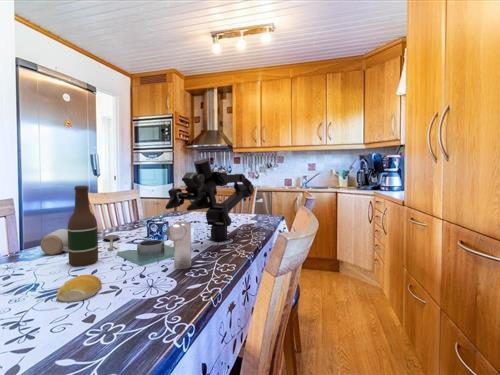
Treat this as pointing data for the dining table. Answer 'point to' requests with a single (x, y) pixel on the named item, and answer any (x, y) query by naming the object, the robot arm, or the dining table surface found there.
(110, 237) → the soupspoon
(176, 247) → the metal bottle
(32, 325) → the dining table surface
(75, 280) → the bread roll
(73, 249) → the beer bottle
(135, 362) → the dining table surface
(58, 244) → the beige cylinder
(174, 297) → the dining table surface
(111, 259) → the dining table surface
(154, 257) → the duct collar
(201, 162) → the robot arm
